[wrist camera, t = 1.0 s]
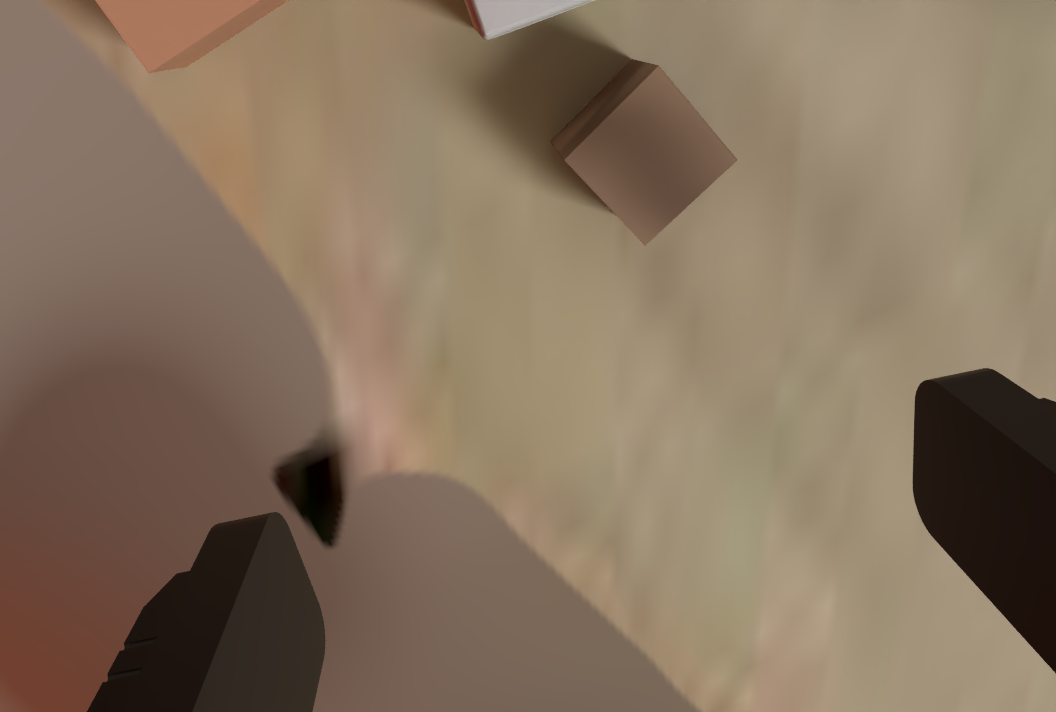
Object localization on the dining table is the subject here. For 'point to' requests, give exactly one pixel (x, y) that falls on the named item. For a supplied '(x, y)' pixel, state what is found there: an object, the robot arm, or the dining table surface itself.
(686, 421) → the dining table surface
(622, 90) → the walnut block
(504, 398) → the dining table surface
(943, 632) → the dining table surface
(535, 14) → the small box
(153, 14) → the terracotta block
